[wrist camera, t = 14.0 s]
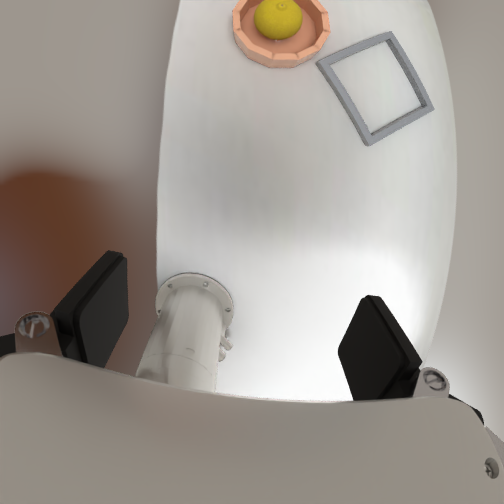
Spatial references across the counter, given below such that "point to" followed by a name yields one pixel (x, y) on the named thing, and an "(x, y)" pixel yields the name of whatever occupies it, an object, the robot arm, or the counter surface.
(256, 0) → the bowl
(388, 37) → the gray square frame
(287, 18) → the lemon
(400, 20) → the counter surface
